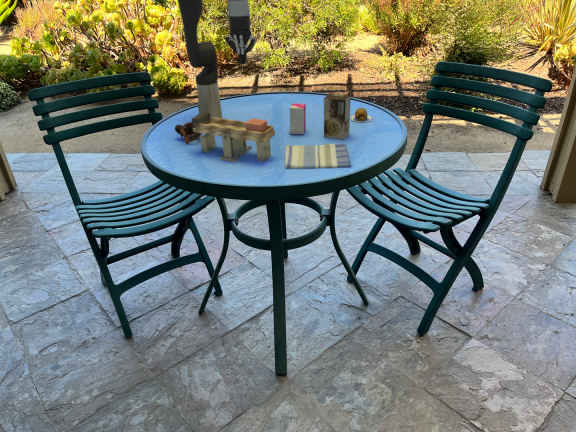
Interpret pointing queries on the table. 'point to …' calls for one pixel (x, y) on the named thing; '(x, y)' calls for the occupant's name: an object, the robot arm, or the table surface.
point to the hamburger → (361, 115)
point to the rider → (256, 125)
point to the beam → (229, 128)
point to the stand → (234, 147)
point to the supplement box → (297, 119)
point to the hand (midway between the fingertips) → (243, 64)
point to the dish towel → (317, 156)
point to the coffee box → (336, 116)
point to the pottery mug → (187, 132)
